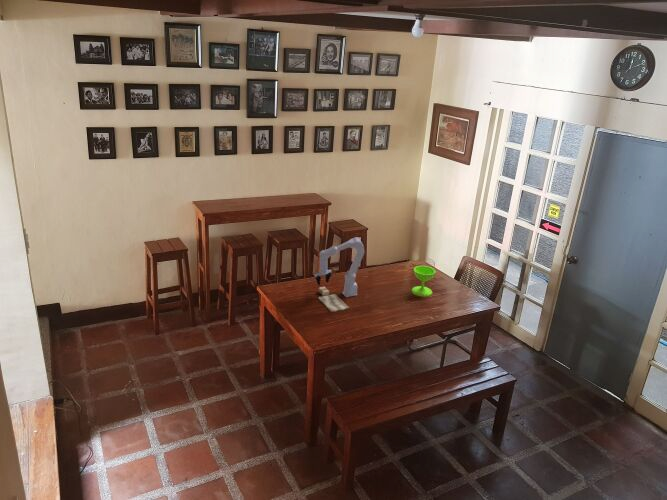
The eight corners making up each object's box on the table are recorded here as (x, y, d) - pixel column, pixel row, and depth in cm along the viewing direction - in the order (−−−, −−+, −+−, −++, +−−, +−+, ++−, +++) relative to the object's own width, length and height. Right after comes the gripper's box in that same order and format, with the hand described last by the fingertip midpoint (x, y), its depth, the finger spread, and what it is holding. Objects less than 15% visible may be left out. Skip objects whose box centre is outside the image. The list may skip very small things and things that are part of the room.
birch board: (335, 295, 390) (335, 293, 389) (349, 308, 372) (349, 307, 371) (318, 298, 384) (318, 297, 384) (331, 312, 366) (331, 310, 365)
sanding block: (318, 292, 393) (319, 287, 392) (324, 291, 395) (324, 286, 394) (323, 297, 387) (323, 292, 385) (328, 296, 389) (329, 291, 387)
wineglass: (436, 294, 399) (439, 273, 392) (418, 297, 393) (420, 275, 386) (425, 285, 412) (428, 264, 405) (407, 288, 407) (410, 267, 400)
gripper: (328, 262, 387) (327, 279, 393) (312, 266, 379) (311, 283, 384) (334, 265, 382) (333, 282, 388) (317, 270, 374) (317, 287, 379)
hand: (322, 283), depth 386 cm, fingers open, 7 cm apart
